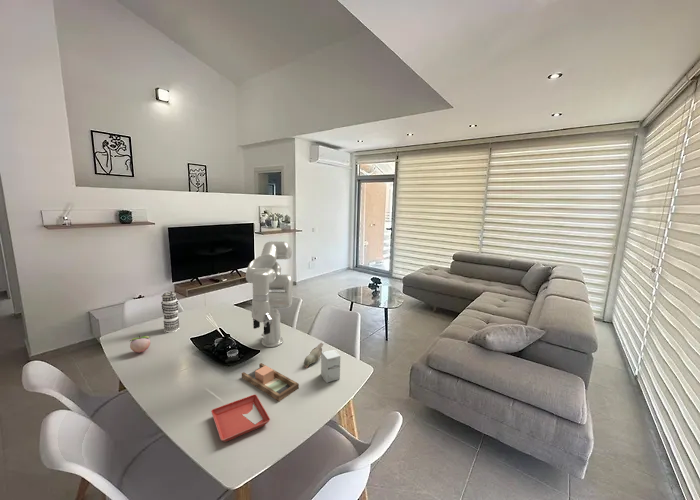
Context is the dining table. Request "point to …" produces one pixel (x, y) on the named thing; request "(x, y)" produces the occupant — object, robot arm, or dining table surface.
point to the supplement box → (330, 365)
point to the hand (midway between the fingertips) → (261, 330)
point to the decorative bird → (313, 355)
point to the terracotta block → (264, 375)
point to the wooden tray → (273, 384)
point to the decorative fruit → (140, 344)
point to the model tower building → (170, 312)
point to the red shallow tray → (238, 418)
